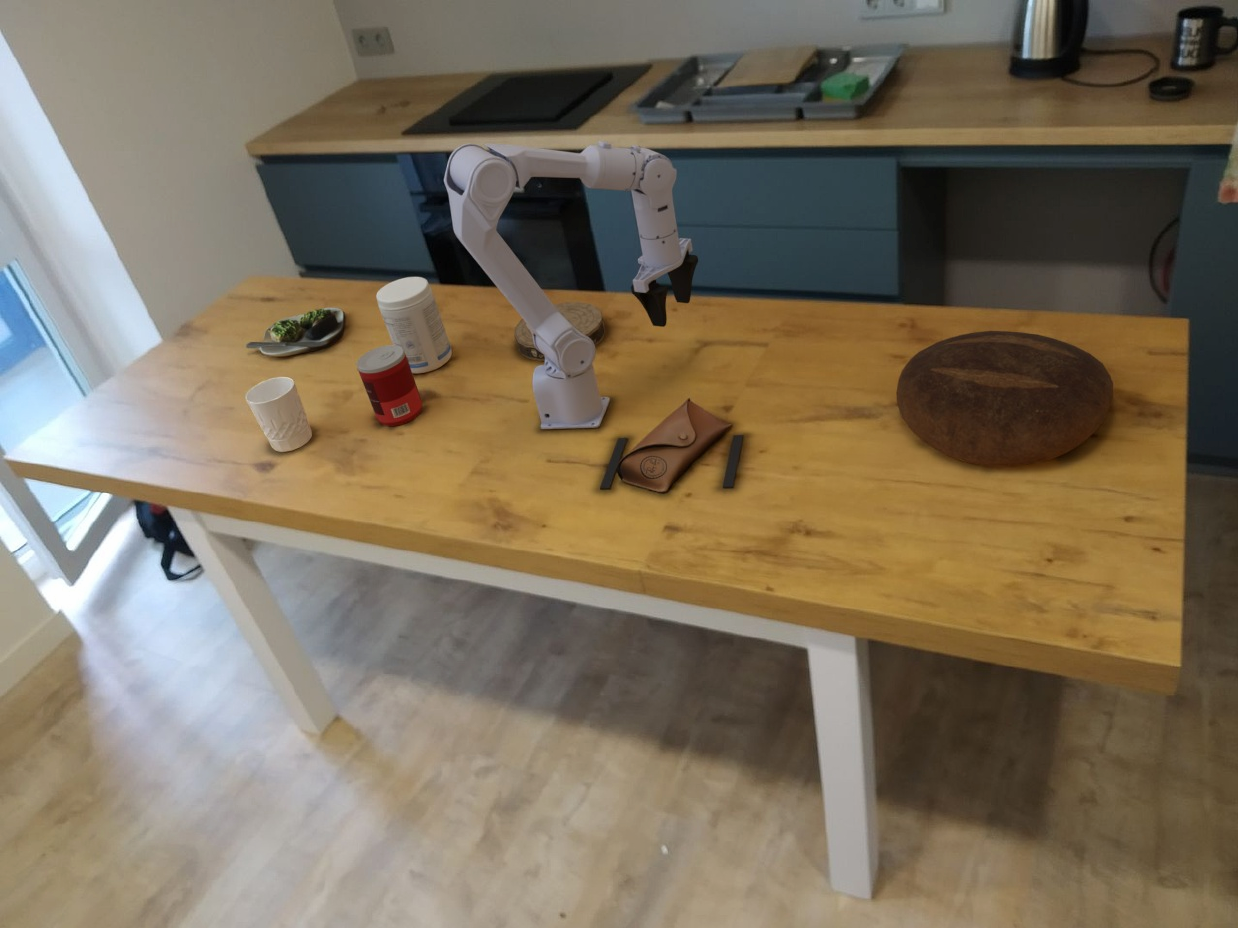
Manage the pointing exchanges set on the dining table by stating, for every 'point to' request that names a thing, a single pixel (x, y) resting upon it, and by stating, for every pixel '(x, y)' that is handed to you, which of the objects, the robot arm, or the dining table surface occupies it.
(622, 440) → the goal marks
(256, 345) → the salad plate
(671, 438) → the sunglasses case
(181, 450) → the dining table surface
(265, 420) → the white cup
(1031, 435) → the bread
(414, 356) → the supplement tub
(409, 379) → the canned food
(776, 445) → the dining table surface
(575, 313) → the tan round flat disc
